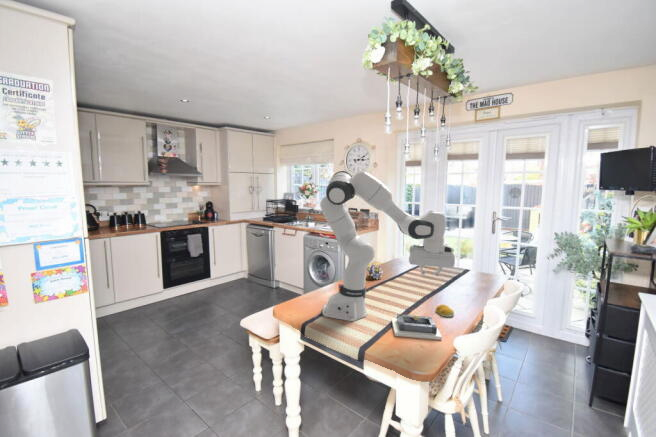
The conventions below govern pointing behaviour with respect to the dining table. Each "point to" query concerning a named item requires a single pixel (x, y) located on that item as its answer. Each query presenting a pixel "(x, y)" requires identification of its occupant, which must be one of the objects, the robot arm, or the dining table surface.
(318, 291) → the dining table surface
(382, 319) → the dining table surface
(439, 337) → the plate
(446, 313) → the bread roll
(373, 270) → the passion flower
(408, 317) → the dark grey rectangular frame
